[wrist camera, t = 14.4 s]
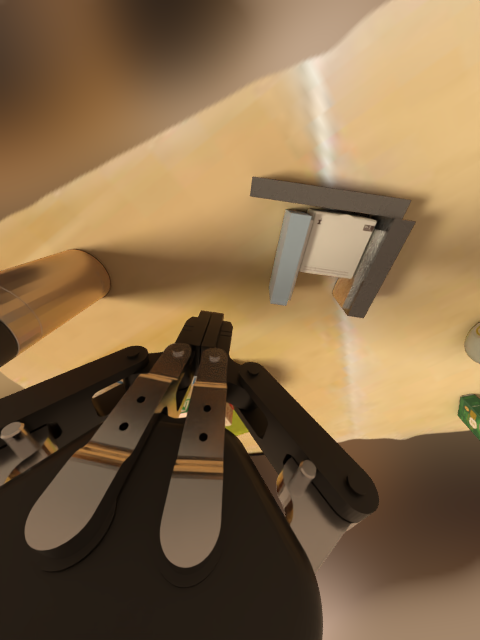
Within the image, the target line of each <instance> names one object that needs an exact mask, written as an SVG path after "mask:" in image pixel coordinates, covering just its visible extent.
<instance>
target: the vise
mask: <svg viewBox="0 0 480 640" xmlns="http://www.w3.org/2000/svg"><path fill="white" fill-rule="evenodd" d="M250 196H252V197H258V198H265V199H272V200H278V201H285V202H292V203H299V204H305V205H312V206H319V207H326V208H332V209H339V210H346V211H352V212H359V213H366V214H368V215H367V217H366V218H370V219H373V220H376V221H377V223H376V225H375V227H374V229H373V232H372V234H371V236H370V238H369V241H368V243H367V245H366V247H365V250H364V252H363V254H362V256H361V259H360V261H359V263H358V266H357V268H356V270H355V272H354V274H353V277H352V278H351V279H349V278H341V277H339V278H338V280H337V282H336V285H335V287H334V290H333V292H332V295H333V296H334V298H335V299H336V300H337V302H338V303H339V305H340V306H341V307H342V309H343V310H344V311H345V313H346V314H347V316H353V317H360V318H364V317H365V315H366V313H367V311H368V309H369V307H370V305H371V304H372V302H373V300H374V298H375V296H376V294H377V293H378V291H379V289H380V287H381V285H382V283H383V281H384V280H385V278H386V276H387V274H388V272H389V270H390V269H391V267H392V265H393V263H394V261H395V259H396V257H397V256H398V254H399V252H400V250H401V248H402V246H403V244H404V243H405V241H406V239H407V237H408V235H409V233H410V232H411V230H412V228H413V226H414V224H415V221H410V220H405V219H402V218H403V216H404V214H405V212H406V210H407V208H408V206H409V204H410V202H411V200H406V199H400V198H393V197H386V196H380V195H373V194H366V193H359V192H353V191H346V190H339V189H333V188H326V187H319V186H312V185H306V184H299V183H292V182H286V181H279V180H272V179H265V178H259V177H252V185H251V193H250Z"/></svg>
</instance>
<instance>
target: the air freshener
mask: <svg viewBox="0 0 480 640" xmlns="http://www.w3.org/2000/svg"><path fill="white" fill-rule="evenodd" d="M464 347H465V351H466V353H467V355H468V356H469V357H470V358H471V359H472V360H474V361H475V362H477V363H479V364H480V322H479V323H478V324H477V325H475V326H474V327H473V328H472V329H471V330H470V332H469V333H468V335H467V336H466V339H465V343H464Z"/></svg>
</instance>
